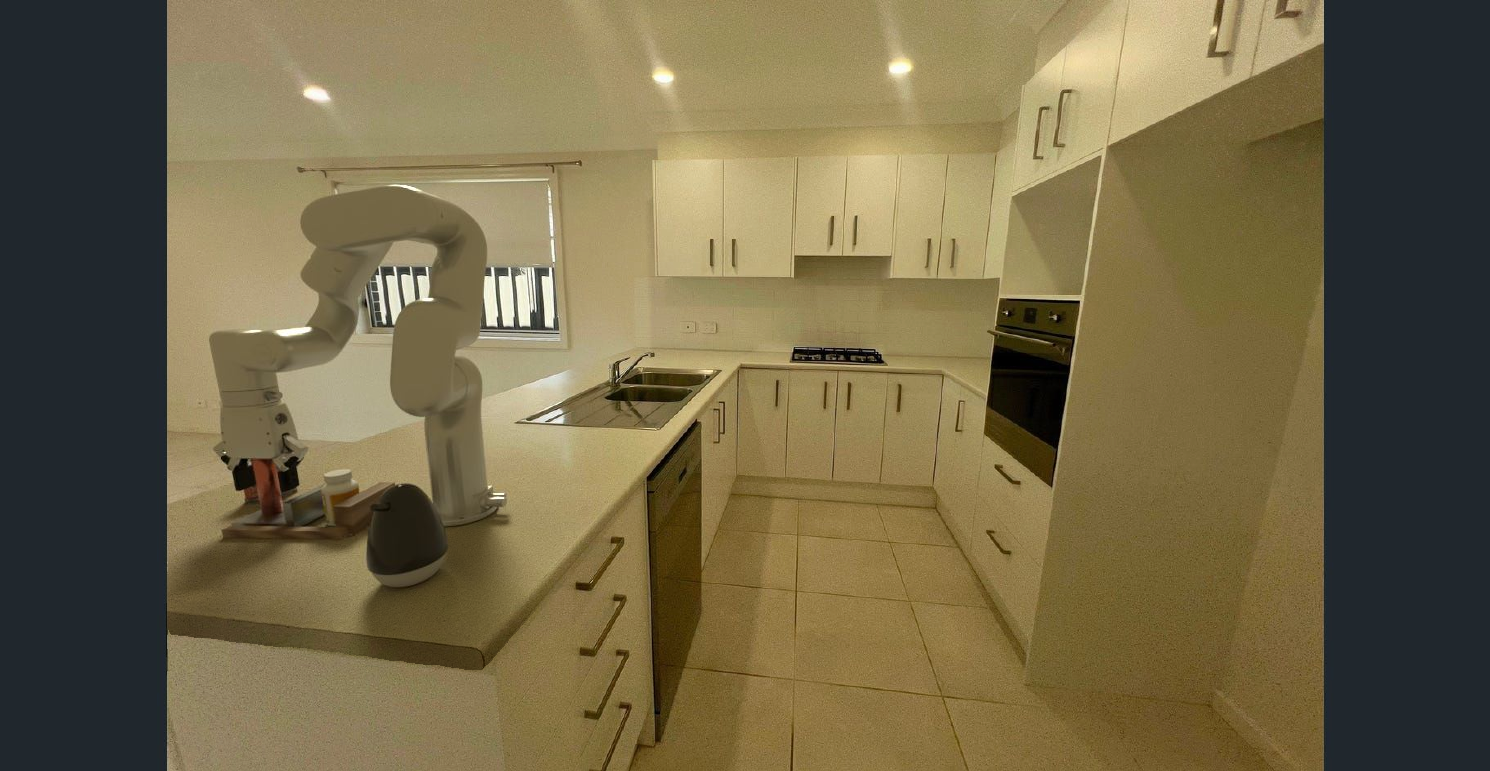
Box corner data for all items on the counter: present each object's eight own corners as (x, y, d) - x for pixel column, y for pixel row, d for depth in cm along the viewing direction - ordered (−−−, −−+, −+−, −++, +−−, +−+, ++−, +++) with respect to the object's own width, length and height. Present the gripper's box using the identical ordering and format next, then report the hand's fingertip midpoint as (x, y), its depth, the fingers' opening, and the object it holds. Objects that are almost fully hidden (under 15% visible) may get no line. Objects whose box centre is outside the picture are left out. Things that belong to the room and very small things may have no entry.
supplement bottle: (370, 514, 93) (363, 468, 91) (345, 528, 88) (337, 478, 86) (345, 513, 94) (338, 466, 92) (318, 526, 88) (310, 477, 87)
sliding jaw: (337, 507, 95) (327, 445, 93) (295, 529, 86) (282, 461, 84) (279, 507, 95) (268, 444, 93) (232, 529, 86) (217, 460, 84)
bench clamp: (403, 504, 98) (400, 479, 97) (347, 539, 84) (342, 510, 83) (296, 503, 98) (292, 478, 97) (223, 537, 84) (217, 508, 83)
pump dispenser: (350, 596, 68) (335, 498, 65) (405, 557, 78) (393, 470, 76) (419, 600, 68) (406, 501, 65) (464, 560, 78) (455, 473, 75)
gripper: (317, 394, 90) (331, 481, 93) (225, 392, 90) (243, 480, 93) (279, 403, 83) (295, 497, 86) (179, 401, 82) (199, 496, 86)
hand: (268, 487), depth 89 cm, fingers open, 7 cm apart
